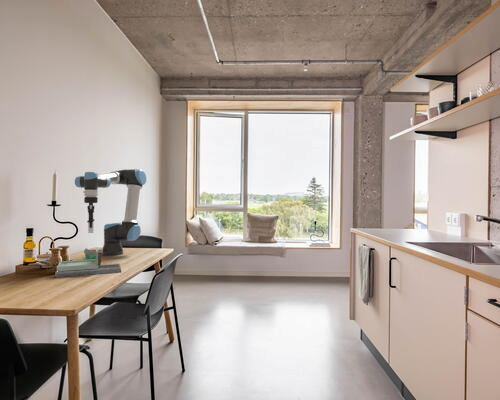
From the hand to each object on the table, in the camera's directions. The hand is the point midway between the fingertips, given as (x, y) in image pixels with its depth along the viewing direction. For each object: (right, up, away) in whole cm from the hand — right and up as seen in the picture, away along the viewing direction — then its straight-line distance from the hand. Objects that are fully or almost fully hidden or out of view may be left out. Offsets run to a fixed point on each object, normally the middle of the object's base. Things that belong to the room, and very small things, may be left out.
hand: (90, 232), depth 212 cm
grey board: (+7, -21, -17) cm, 28 cm away
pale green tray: (+2, -18, -20) cm, 27 cm away
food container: (0, -21, 0) cm, 21 cm away
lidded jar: (-23, -21, -8) cm, 32 cm away
